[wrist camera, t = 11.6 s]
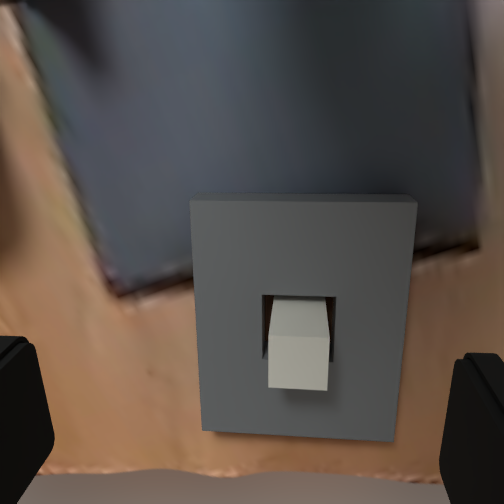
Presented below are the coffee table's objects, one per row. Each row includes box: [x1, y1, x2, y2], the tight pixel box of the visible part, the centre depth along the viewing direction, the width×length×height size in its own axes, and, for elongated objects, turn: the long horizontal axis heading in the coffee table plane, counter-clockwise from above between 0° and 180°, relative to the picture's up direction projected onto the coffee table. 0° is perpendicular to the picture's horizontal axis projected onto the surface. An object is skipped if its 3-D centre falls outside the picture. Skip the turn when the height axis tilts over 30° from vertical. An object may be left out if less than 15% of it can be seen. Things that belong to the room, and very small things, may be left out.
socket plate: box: [189, 193, 418, 442], centre depth 37 cm, size 20×16×3 cm
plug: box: [268, 295, 330, 391], centre depth 34 cm, size 4×4×8 cm
